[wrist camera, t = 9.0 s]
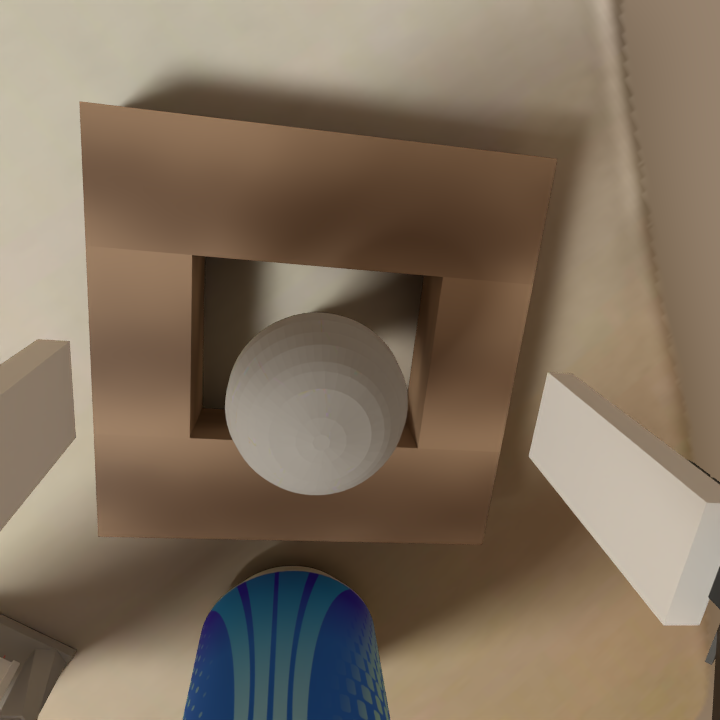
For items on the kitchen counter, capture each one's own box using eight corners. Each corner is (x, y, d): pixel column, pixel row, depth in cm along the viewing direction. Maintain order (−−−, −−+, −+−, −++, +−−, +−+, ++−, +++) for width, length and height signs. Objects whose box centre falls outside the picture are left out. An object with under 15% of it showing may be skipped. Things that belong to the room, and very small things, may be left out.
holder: (109, 112, 20) (79, 101, 18) (524, 161, 22) (557, 158, 20) (120, 496, 25) (98, 536, 22) (462, 506, 27) (482, 544, 24)
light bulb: (340, 252, 23) (372, 302, 13) (394, 364, 25) (456, 479, 15) (222, 310, 23) (170, 401, 14) (284, 417, 25) (276, 564, 15)
